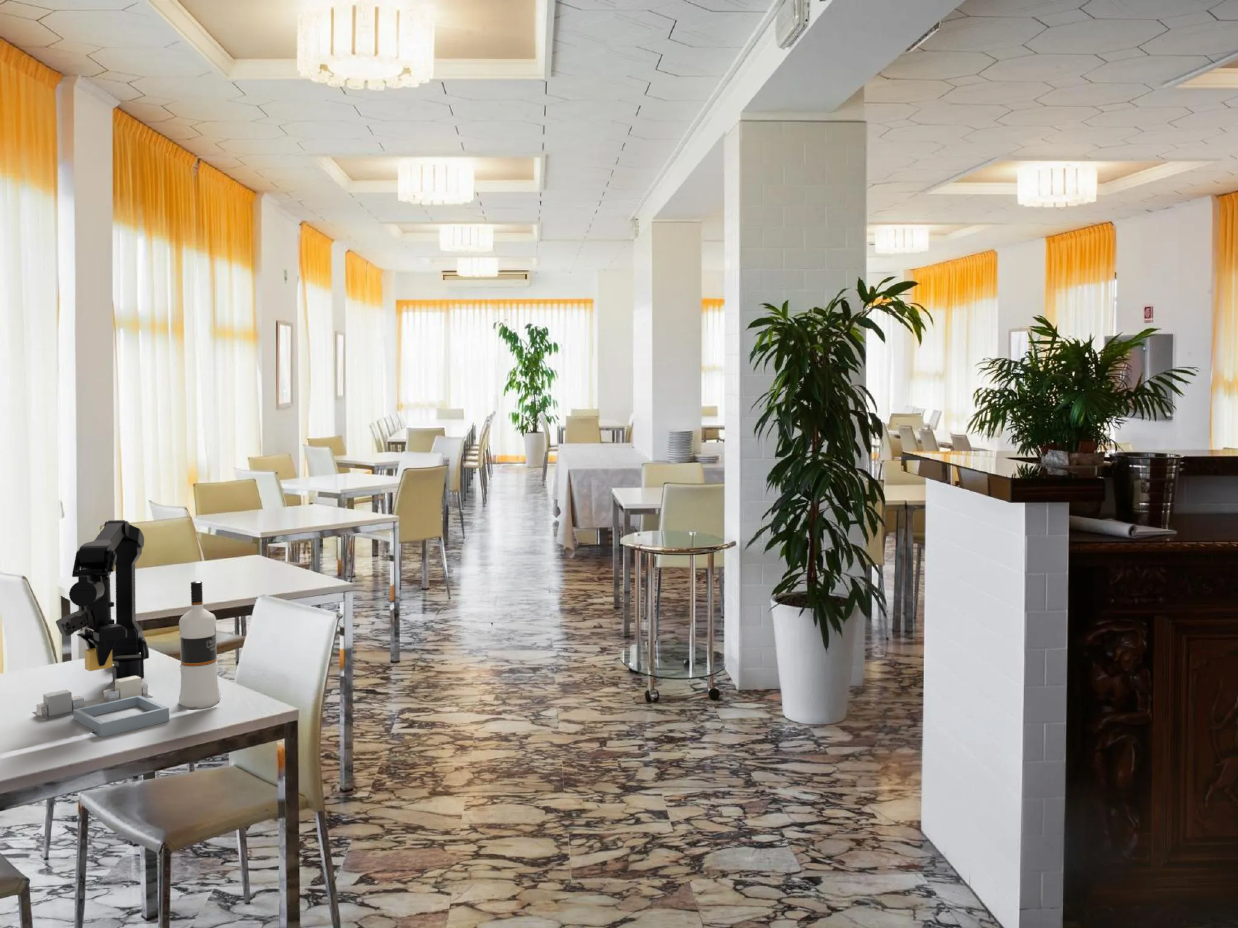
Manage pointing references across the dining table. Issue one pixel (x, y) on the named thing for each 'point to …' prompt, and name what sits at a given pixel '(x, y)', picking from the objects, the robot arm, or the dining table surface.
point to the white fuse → (128, 687)
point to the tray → (123, 724)
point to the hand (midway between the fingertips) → (98, 664)
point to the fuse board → (87, 702)
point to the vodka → (198, 654)
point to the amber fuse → (95, 660)
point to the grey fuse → (58, 702)
